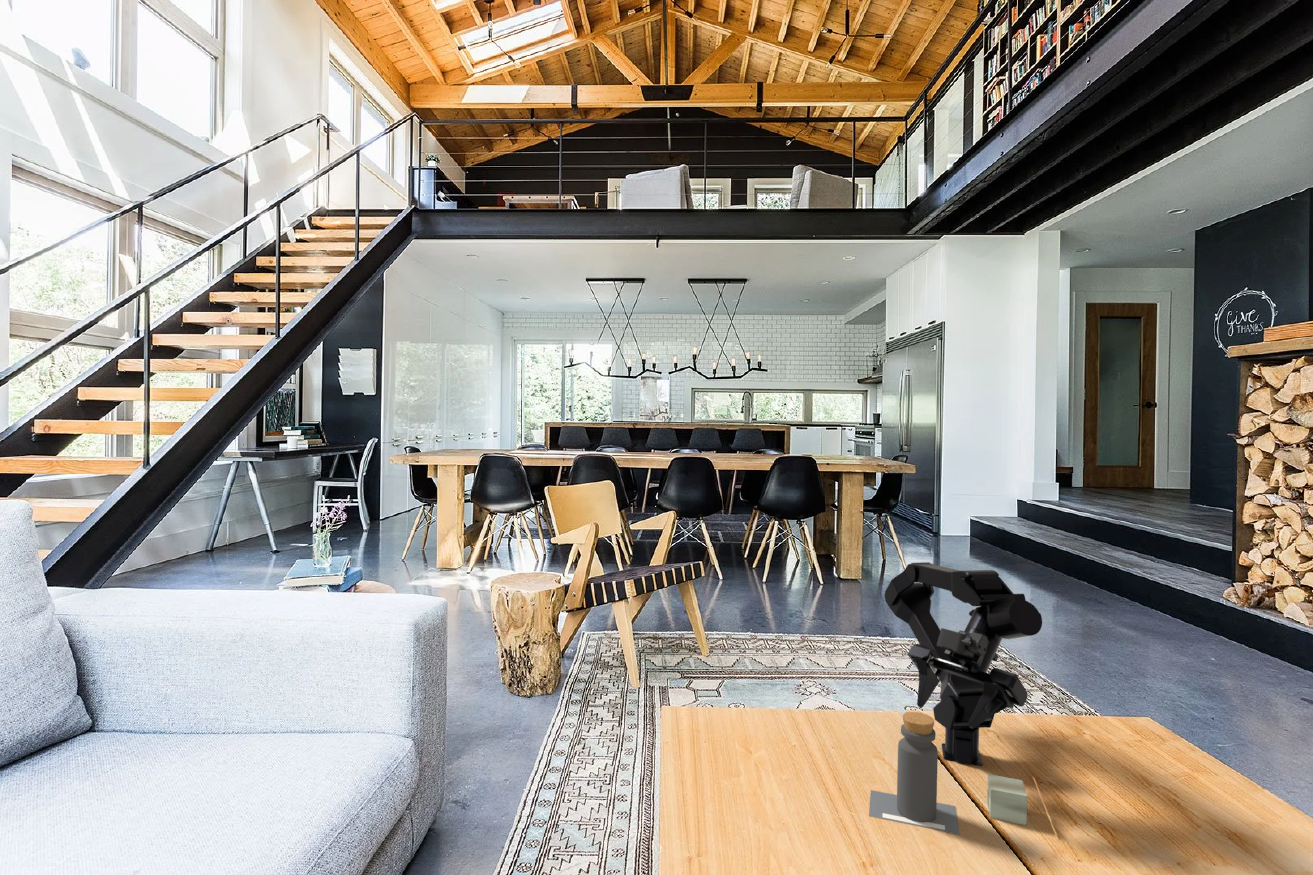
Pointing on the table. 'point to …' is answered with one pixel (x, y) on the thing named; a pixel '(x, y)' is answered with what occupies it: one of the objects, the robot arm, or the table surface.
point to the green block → (1007, 799)
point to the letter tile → (887, 809)
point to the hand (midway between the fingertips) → (944, 716)
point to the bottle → (917, 768)
